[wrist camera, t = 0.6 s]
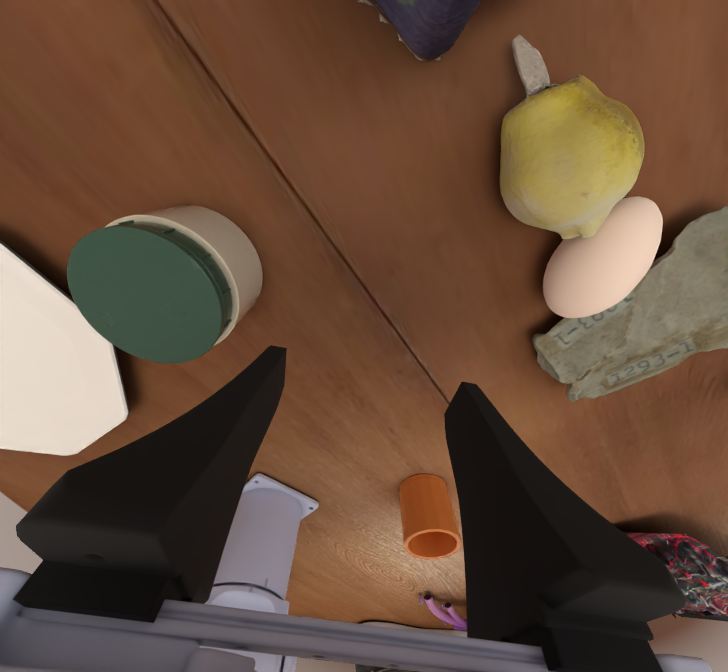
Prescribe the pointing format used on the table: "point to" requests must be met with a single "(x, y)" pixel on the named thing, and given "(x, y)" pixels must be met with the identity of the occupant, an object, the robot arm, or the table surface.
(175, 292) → the jar lid
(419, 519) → the cup
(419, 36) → the flask
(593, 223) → the fruit
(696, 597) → the fabric swatch
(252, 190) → the table surface
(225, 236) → the jar
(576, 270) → the egg
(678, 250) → the stone
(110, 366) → the plate
